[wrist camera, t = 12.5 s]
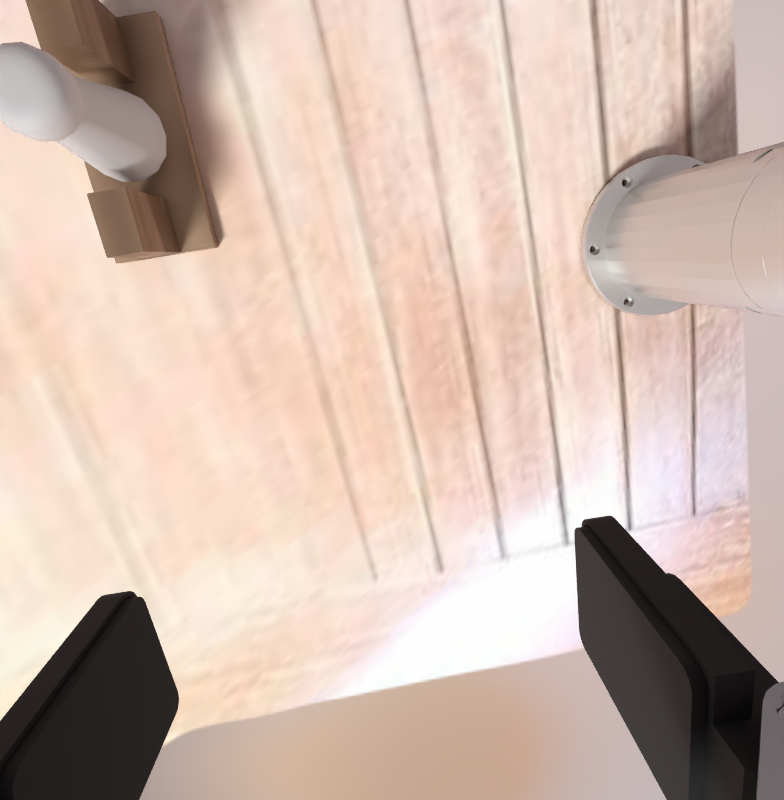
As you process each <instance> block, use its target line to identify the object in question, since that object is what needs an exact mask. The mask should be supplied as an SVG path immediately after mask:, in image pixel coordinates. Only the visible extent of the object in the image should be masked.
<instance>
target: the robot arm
mask: <svg viewBox="0 0 784 800" xmlns="http://www.w3.org/2000/svg"><path fill="white" fill-rule="evenodd" d="M622 180H623V181H624V186H623V185H622ZM590 247H592V248H593V251H592V252H591V253H590ZM581 257H582V262H583V268H584V271H585V273H586V276H587V279H588V281H589V283H590V284H591V286H592V287H593V289H594V290H595V292H596V293H597V294H598V295H599V296H600V297H601V298H602V299H603V300H604V301H605V302H606V303H608V304H609V305H611V306H613V307H614V308H616V309H618V310H621V311H624V312H627V313H631V314H636V315H645V316H655V315H661V314H667V313H670V312H673V311H676V310H678V309H681V308H683V307H685V306H686V305H688V304H697V305H704V306H711V307H718V308H725V309H732V310H739V311H746V312H753V313H760V314H767V315H774V316H781V317H784V142H782V143H779V144H775V145H772V146H768V147H765V148H761V149H757V150H754V151H751V152H747V153H743V154H740V155H736V156H732V157H729V158H725V159H722V160H718V161H715V162H711V163H707V164H706V163H704V162H702V161H700V160H697V159H695V158H693V157H690V156H683V155H677V154H674V155H660V156H656V157H653V158H649V159H646V160H643V161H641V162H638V163H636V164H633V165H632V166H630V167H628V168H627V169H625V170H623V171H622V172H620V173H619V174H618V175H617V176H615V177H614V178H613V179H612V180H611V181H610V182H609V183H608V184H607V185H606V186H605V187H604V188H603V190H602V191H601V192H600V193H599V195H598V196H597V198H596V199H595V201H594V203H593V205H592V206H591V208H590V210H589V213H588V215H587V218H586V221H585V224H584V228H583V233H582V239H581ZM625 299H626V303H625V304H624V300H625ZM575 553H576V573H577V593H578V614H579V631H580V636H581V640H582V643H583V646H584V648H585V650H586V652H587V654H588V655H589V657H590V659H591V661H592V663H593V665H594V666H595V668H596V670H597V672H598V674H599V676H600V677H601V679H602V681H603V683H604V685H605V687H606V689H607V690H608V692H609V694H610V696H611V698H612V700H613V701H614V703H615V705H616V707H617V709H618V711H619V712H620V714H621V716H622V718H623V720H624V722H625V723H626V725H627V727H628V729H629V731H630V733H631V735H632V736H633V738H634V740H635V742H636V743H637V746H638V747H639V749H640V751H641V753H642V755H643V757H644V759H645V760H646V762H647V764H648V766H649V768H650V770H651V771H652V773H653V775H654V777H655V779H656V781H657V782H658V784H659V786H660V788H661V790H662V792H663V793H664V795H665V797H666V799H667V800H784V682H781V683H779V682H778V681H777V680H776V679H775V678H774V677H773V676H772V675H771V674H770V673H769V672H768V671H767V670H766V669H765V668H764V667H763V666H762V665H761V664H760V663H759V661H757V659H756V658H755V657H754V656H753V655H752V654H751V653H750V652H749V651H748V650H747V649H746V648H745V647H744V646H743V645H742V644H741V643H740V642H739V641H738V640H737V638H736V637H735V636H734V635H733V634H732V633H731V632H730V631H729V630H728V629H727V628H726V627H725V626H724V625H723V624H722V623H721V622H720V621H719V620H718V619H717V618H716V616H715V615H714V614H713V613H712V612H711V611H710V610H709V609H708V608H707V607H706V606H705V605H704V604H703V603H702V602H701V601H700V600H699V599H698V598H697V597H696V596H695V595H694V593H693V592H692V591H691V590H690V589H689V588H688V587H687V586H686V585H685V584H684V583H683V582H682V581H681V580H680V579H679V578H678V577H676V576H675V575H673V574H670V573H667V574H666V573H665V572H664V571H663V570H662V569H661V568H660V567H659V566H658V565H657V564H656V562H655V561H654V560H653V559H652V558H651V557H650V556H649V555H648V554H647V553H646V552H645V551H644V550H643V548H642V547H641V546H640V545H639V544H638V543H637V542H636V541H635V540H634V539H633V538H632V537H631V536H630V534H629V533H628V532H627V531H626V530H625V529H624V528H623V527H622V526H621V525H620V524H619V523H618V522H617V520H616V519H615V518H613V517H612V516H605V517H598V518H592V519H586V520H584V521H583V522H582V527H580V528H576V529H575ZM178 703H179V696H178V691H177V688H176V685H175V683H174V680H173V677H172V674H171V672H170V669H169V666H168V663H167V661H166V658H165V655H164V652H163V650H162V647H161V644H160V641H159V639H158V636H157V633H156V630H155V628H154V625H153V622H152V619H151V617H150V614H149V611H148V608H147V606H146V603H145V601H144V599H143V598H142V597H137V596H136V594H135V593H134V592H131V591H127V592H121V593H115V594H108V595H104V596H101V597H100V598H99V599H98V600H97V601H96V602H95V604H94V605H93V606H92V607H91V609H90V610H89V611H88V612H87V614H86V615H85V616H84V617H83V619H82V620H81V621H80V622H79V624H78V625H77V626H76V627H75V629H74V630H73V631H72V632H71V634H70V635H69V636H68V637H67V639H66V640H65V641H64V642H63V644H62V645H61V646H60V647H59V649H58V650H57V651H56V652H55V654H54V655H53V656H52V657H51V659H50V660H49V661H48V662H47V664H46V665H45V666H44V667H43V668H42V670H41V671H40V672H39V673H38V675H37V676H36V677H35V678H34V680H33V681H32V682H31V683H30V685H29V686H28V687H27V688H26V690H25V691H24V692H23V693H22V695H21V696H20V697H19V698H18V700H17V701H16V702H15V703H14V705H13V706H12V707H11V708H10V710H9V711H8V712H7V713H6V715H5V716H4V717H3V718H2V720H1V721H0V800H139V799H140V796H141V794H142V792H143V789H144V787H145V785H146V782H147V780H148V778H149V775H150V773H151V770H152V768H153V766H154V764H155V761H156V759H157V757H158V754H159V752H160V750H161V747H162V745H163V743H164V740H165V738H166V736H167V733H168V731H169V729H170V727H171V724H172V722H173V720H174V717H175V715H176V712H177V709H178Z"/></svg>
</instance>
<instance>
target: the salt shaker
mask: <svg viewBox="0 0 784 800" xmlns="http://www.w3.org/2000/svg"><path fill="white" fill-rule="evenodd" d="M0 120H1V121H2V122H3V123H4V124H5V125H6V126H7V127H8V128H9V129H11V130H13V131H14V132H16V133H19V134H21V135H24V136H26V137H29V138H31V139H34V140H37V141H41V142H48V141H56V142H58V143H59V144H61V145H62V146H64V147H65V148H67V149H68V150H70V151H71V152H72V153H74V154H75V155H77V156H78V157H80V158H81V159H83V160H84V161H86V162H87V163H88V164H90V165H91V166H93V167H94V168H96V169H97V170H99V171H100V172H101V173H103V174H104V175H107V176H109V177H112V178H114V179H117V180H119V181H122V182H130V181H144V180H146V179H147V178H149V177H150V176H152V175H153V174H154V173H156V172H157V171H158V170H159V168H160V166H161V164H162V163H163V161H164V159H165V157H166V134H165V131H164V129H163V126H162V123H161V121H160V118H159V116H158V115H157V114H156V113H155V112H154V111H153V110H152V109H151V108H150V107H149V105H148V104H147V103H146V102H145V101H144V100H143V99H142V98H139V97H137V96H135V95H133V94H131V93H128V92H126V91H124V90H121V89H118V88H114V87H110V86H107V85H103V84H100V83H96V82H92V81H89V80H85V79H81V78H78V77H74V76H73V75H72V74H71V73H70V72H69V71H68V70H67V69H66V68H65V67H64V66H63V65H62V64H61V63H60V62H59V61H58V60H57V59H56V58H55V57H53V56H52V55H51V54H49V53H47V52H44V51H42V50H40V49H38V48H36V47H33V46H31V45H29V44H26V43H23V42H15V43H2V44H1V45H0Z"/></svg>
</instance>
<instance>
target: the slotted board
mask: <svg viewBox="0 0 784 800" xmlns="http://www.w3.org/2000/svg"><path fill="white" fill-rule="evenodd" d="M26 3H27V6H28V9H29V12H30V16H31V19H32V22H33V25H34V28H35V31H36V35H37V38H38V41H39V44H40V47H41V50H42V51H44V52H47V53H49V54H51V55H52V56H53V57H55V58H56V59H57V60H58V61H59V62H60V63H61V64H62V65H63V66H64V67H65V68H66V69H67V70H68V71H69V72H70V73H71V74H72V75H73V76H74V77H78V78H81V79H85V80H89V81H92V82H96V83H100V84H103V85H107V86H110V87H114V88H118V89H121V90H124V91H126V92H128V93H131V94H133V95H135V96H137V97H139V98H142V99H143V100H144V101H145V102H146V103H147V104H148V105H149V107H150V108H151V109H152V110H153V111H154V112H155V113H156V114H157V115H158V116H159V118H160V121H161V123H162V126H163V129H164V131H165V134H166V157H165V159H164V161H163V163H162V164H161V166H160V168H159V170H158V171H157V172H156V173H154V174H153V175H152V176H150V177H149V178H147V179H146V180H144V181H130V182H122V181H119V180H117V179H114V178H112V177H109V176H107V175H104V174H103V173H101V172H100V171H99V170H97V169H96V168H94V167H93V166H91V165H90V164H88V163H87V162H86V161H84V162H85V165H86V168H87V172H88V175H89V178H90V181H91V184H92V188H93V191H94V193H89V194H87V196H88V199H89V202H90V205H91V208H92V212H93V215H94V218H95V221H96V224H97V227H98V230H99V234H100V237H101V240H102V243H103V246H104V249H105V253H106V256H107V258H115V261H116V263H126V262H132V261H138V260H144V259H150V258H156V257H162V256H168V255H174V254H180V253H186V252H192V251H198V250H204V249H210V248H216V247H218V244H217V240H216V236H215V232H214V228H213V224H212V220H211V216H210V212H209V208H208V204H207V200H206V196H205V192H204V188H203V184H202V180H201V176H200V172H199V168H198V164H197V160H196V156H195V152H194V148H193V144H192V140H191V136H190V132H189V128H188V124H187V120H186V116H185V112H184V108H183V104H182V100H181V96H180V92H179V88H178V84H177V80H176V76H175V72H174V68H173V64H172V60H171V56H170V52H169V48H168V44H167V40H166V36H165V32H164V28H163V24H162V20H161V17H160V16H159V15H158V14H157V13H156V12H155V11H153V12H147V13H141V14H135V15H129V16H123V17H117V18H116V17H115V16H114V15H113V14H112V13H111V12H110V11H109V10H108V9H107V8H106V7H105V6H104V5H103V4H102V3H101V2H99V1H98V0H26Z"/></svg>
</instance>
